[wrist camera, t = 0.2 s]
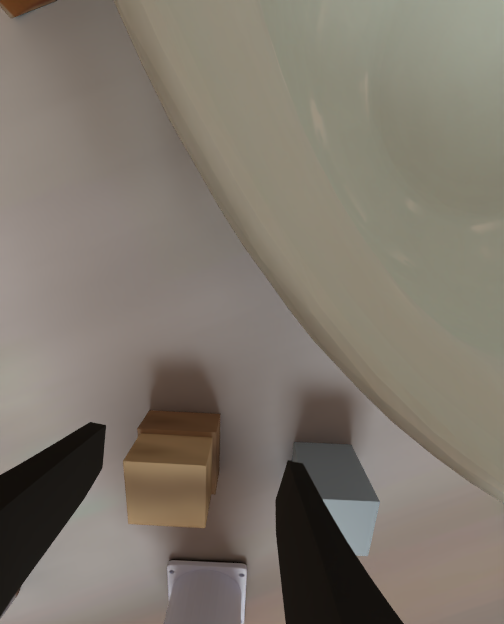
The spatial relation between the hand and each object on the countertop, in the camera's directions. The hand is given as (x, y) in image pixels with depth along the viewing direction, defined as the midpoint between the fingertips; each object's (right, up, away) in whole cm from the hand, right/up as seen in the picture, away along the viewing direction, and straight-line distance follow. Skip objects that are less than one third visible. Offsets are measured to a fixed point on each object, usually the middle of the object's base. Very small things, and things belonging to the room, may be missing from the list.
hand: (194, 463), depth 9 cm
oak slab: (-4, -6, +10) cm, 12 cm away
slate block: (+8, -8, +12) cm, 17 cm away
